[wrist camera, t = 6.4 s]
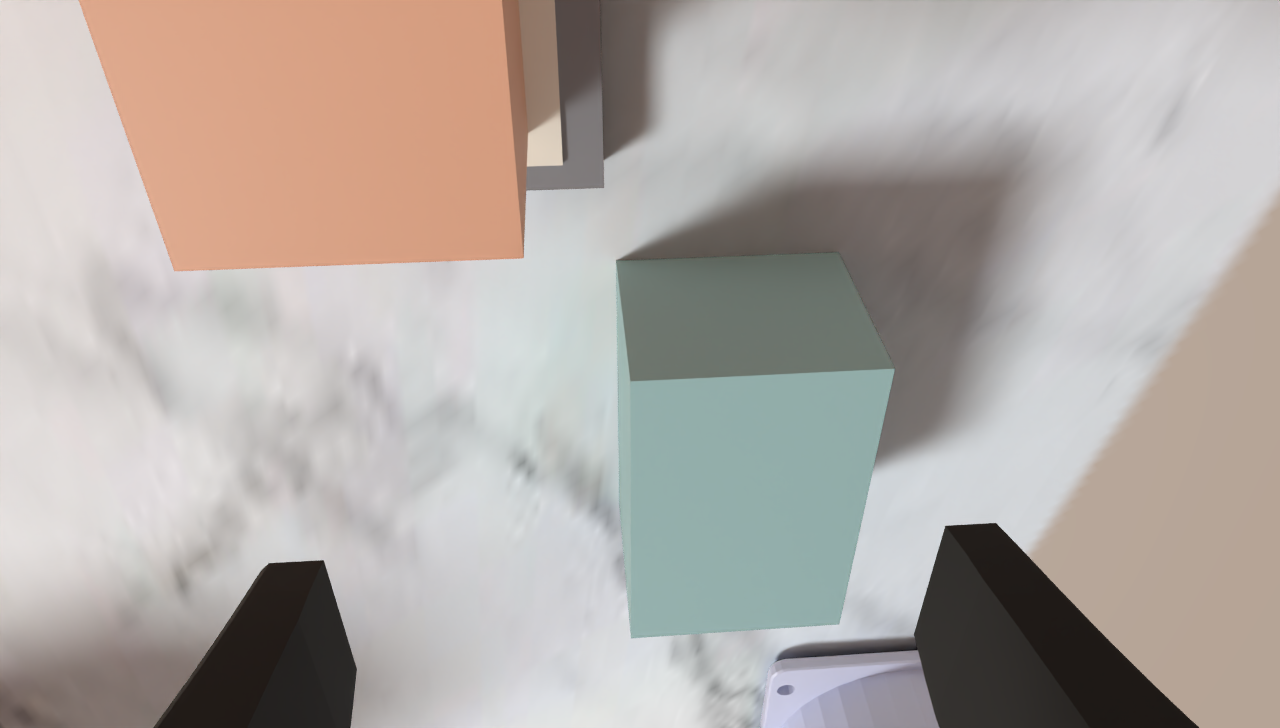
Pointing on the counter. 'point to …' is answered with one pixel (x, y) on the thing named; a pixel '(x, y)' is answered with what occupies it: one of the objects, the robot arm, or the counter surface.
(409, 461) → the counter surface
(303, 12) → the terracotta brick
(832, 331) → the teal brick
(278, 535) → the counter surface
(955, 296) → the counter surface
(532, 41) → the baseplate
